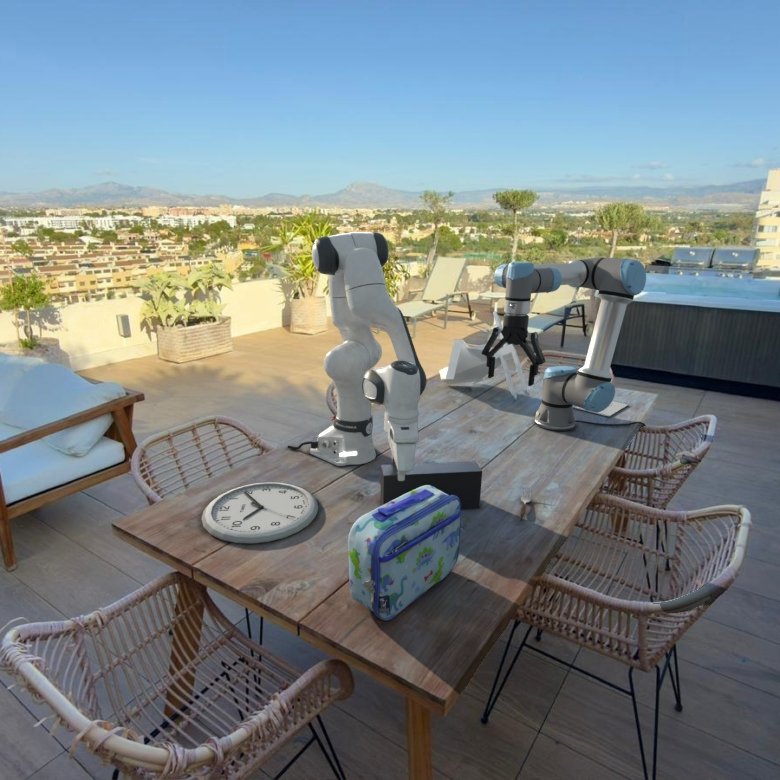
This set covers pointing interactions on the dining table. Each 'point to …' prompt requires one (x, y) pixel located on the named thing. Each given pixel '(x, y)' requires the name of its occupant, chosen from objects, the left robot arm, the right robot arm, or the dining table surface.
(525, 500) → the fork
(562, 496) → the dining table surface
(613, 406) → the invitation card
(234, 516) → the wall clock
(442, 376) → the white plastic object
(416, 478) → the box
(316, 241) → the left robot arm
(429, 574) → the lunch box
